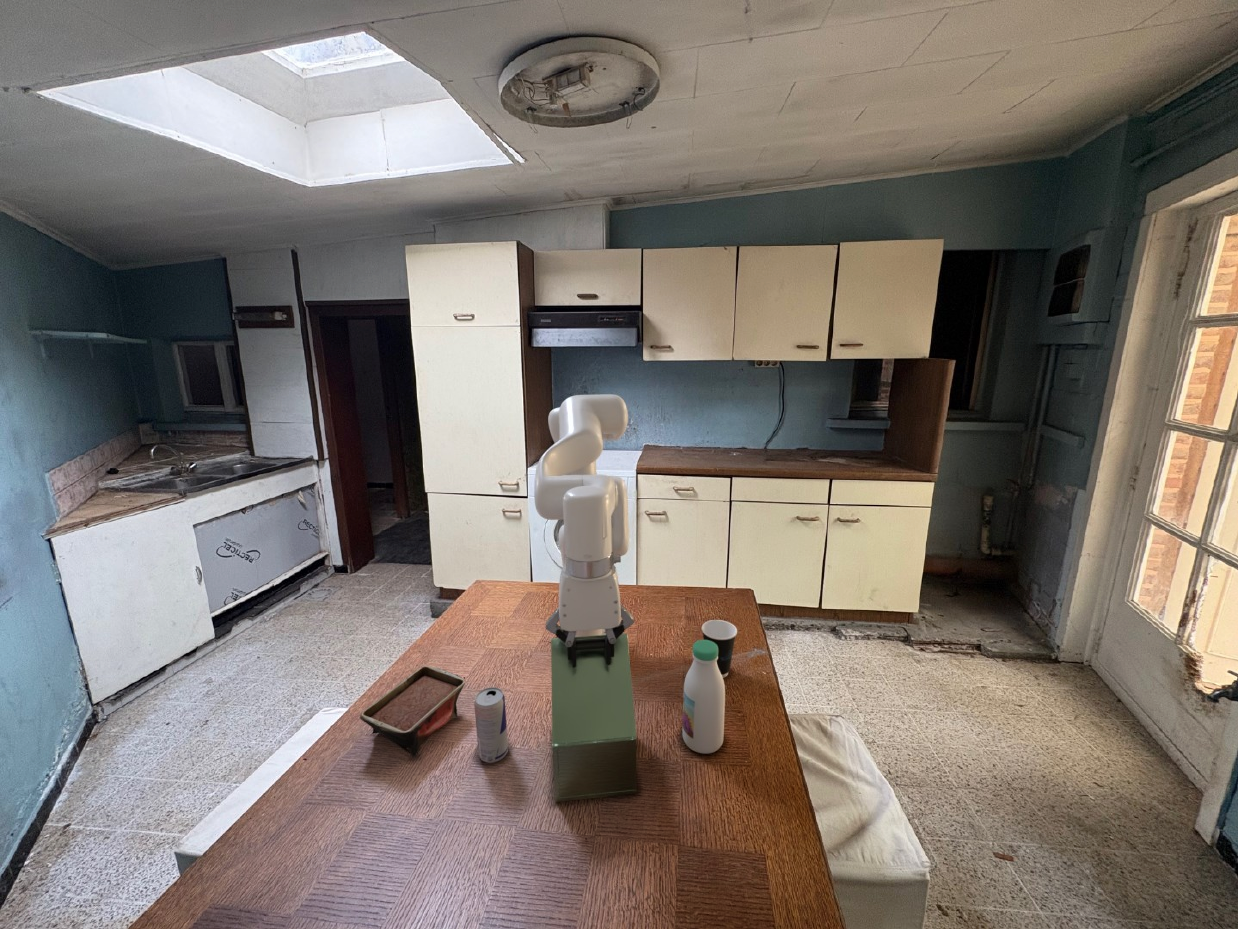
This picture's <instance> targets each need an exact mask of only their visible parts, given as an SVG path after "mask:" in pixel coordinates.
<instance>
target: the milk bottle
mask: <svg viewBox="0 0 1238 929" xmlns="http://www.w3.org/2000/svg"><path fill="white" fill-rule="evenodd" d="M692 658H693V660H692V663H691V666H690V667H689V669H688V671H687V672H686V675H685V678H684V683H683V691H682V692H683V695H682V739H683V741H684V743H685V746H687V747H688V749H690V750H692V751H693V752H696V753H698V754H707V755H708V754H712V753H715V752H716V751H718V750H720V748H721V747H722V745H723V743H724V732H725V714H726V713H725V709H726V686H725V681H724V678H723V677H722V675H721V673H720V671H719V668H718V665H717V659H718V646H717V645H716V644H715V643H714V642H712V641H709V640H704V639H699V640H696V641H695V642H694V643H693V644H692Z"/></svg>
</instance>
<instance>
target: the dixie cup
mask: <svg viewBox="0 0 1238 929" xmlns="http://www.w3.org/2000/svg"><path fill="white" fill-rule="evenodd" d="M701 632H702V637H703V639H702V640H709V641H712V642H714V643H715V644H716V645H717V646H718V659H717V665H718V668H719V671H720V673H721V675H722V677H723V679H724V678H727V676H728V675H729V672H730V670H731V665H732V658H733V652H734V647H735V641H736V636H737V634H738V628H737V627H736V626H735V625H734V624H733V623H731V622H729V621H726V620H722V619H710V620H707V621H705V622H704V623H703V624H702V625H701Z"/></svg>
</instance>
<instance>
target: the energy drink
mask: <svg viewBox="0 0 1238 929" xmlns="http://www.w3.org/2000/svg"><path fill="white" fill-rule="evenodd" d="M473 705H474V706H473V707H474V717H475V729H476V740H477V741H476V742H477V751H478V757H479V759H480V760H481V761H483V762H484V763H488V764H489V763H490V764H491V763H497V762H499V761H501V760H502V759H504V758H505V757H506V755H507V754H508V752H509V738H508V724H507V711H506V698H505V694H504V692H503V690H502V689H501V688H499V687H497V686H496V687H493V686H491V687H486V688H483V689H481V690H480V691H478V692H477V693H476V695H475V697H474V702H473Z"/></svg>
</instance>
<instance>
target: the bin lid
mask: <svg viewBox="0 0 1238 929" xmlns="http://www.w3.org/2000/svg"><path fill="white" fill-rule="evenodd" d="M605 636H606V635H596V636H582V637H575V638H576V665H577V667H575V668H572V660H568V649H567V646H566V644H565V643H564V642H563V641H562V640H560V639H559V638H558V637H556V638H554V637H553V638H550V654H551V655H550V664H551V665H550V668H551V670H550V672H551V673H550V674H551V677H550V678H551V744H552V746H553V745H554V744H565V743H576V742H587V741H597V740H608V739H619V738H630V737H636V738H637V736H638V735H637V728H636V727H637V724H636V716H635V703H634V693H633V682H632V681H633V680H632V670H631V660H630V659H631V658H630V648H629V647H630V646H629V637H628V633H627V632H624V633H622V634H621V635H620V636H619V637H618V638H617V639H616V642H615V643H614V657H611V665H608V664H606V658H605V648H606V646H605Z"/></svg>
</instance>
